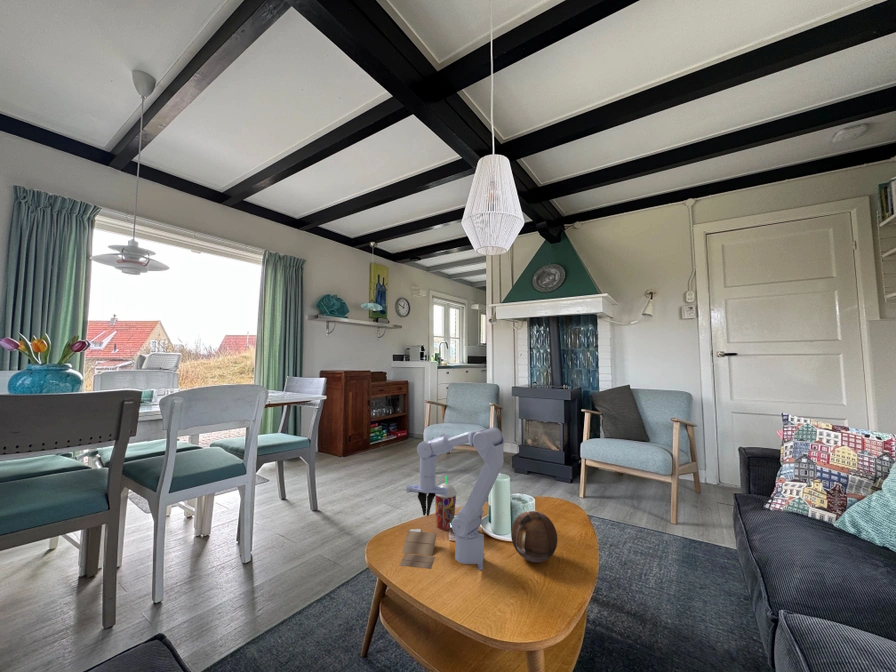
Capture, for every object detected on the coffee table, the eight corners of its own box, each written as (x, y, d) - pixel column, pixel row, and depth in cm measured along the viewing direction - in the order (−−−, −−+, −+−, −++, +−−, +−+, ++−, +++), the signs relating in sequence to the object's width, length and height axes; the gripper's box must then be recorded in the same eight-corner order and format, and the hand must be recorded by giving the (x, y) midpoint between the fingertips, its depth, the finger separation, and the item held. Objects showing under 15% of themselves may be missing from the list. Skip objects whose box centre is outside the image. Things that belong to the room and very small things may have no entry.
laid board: (434, 561, 114) (434, 556, 114) (431, 573, 108) (431, 568, 108) (404, 558, 116) (404, 553, 116) (399, 570, 109) (399, 565, 109)
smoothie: (455, 534, 132) (457, 480, 134) (433, 534, 132) (434, 479, 134) (455, 524, 141) (456, 473, 142) (434, 523, 141) (436, 472, 142)
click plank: (436, 535, 123) (436, 533, 122) (432, 558, 115) (432, 555, 115) (408, 533, 124) (407, 530, 124) (402, 555, 117) (402, 552, 116)
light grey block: (420, 534, 132) (420, 528, 133) (421, 537, 130) (421, 531, 130) (409, 535, 132) (409, 529, 132) (410, 538, 129) (410, 532, 130)
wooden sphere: (539, 544, 127) (540, 501, 128) (567, 567, 113) (567, 519, 114) (502, 551, 122) (503, 506, 123) (526, 576, 108) (527, 525, 109)
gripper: (449, 472, 129) (448, 511, 128) (410, 470, 131) (409, 508, 130) (446, 479, 122) (445, 519, 121) (405, 476, 124) (404, 516, 123)
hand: (426, 514), depth 125 cm, fingers closed
